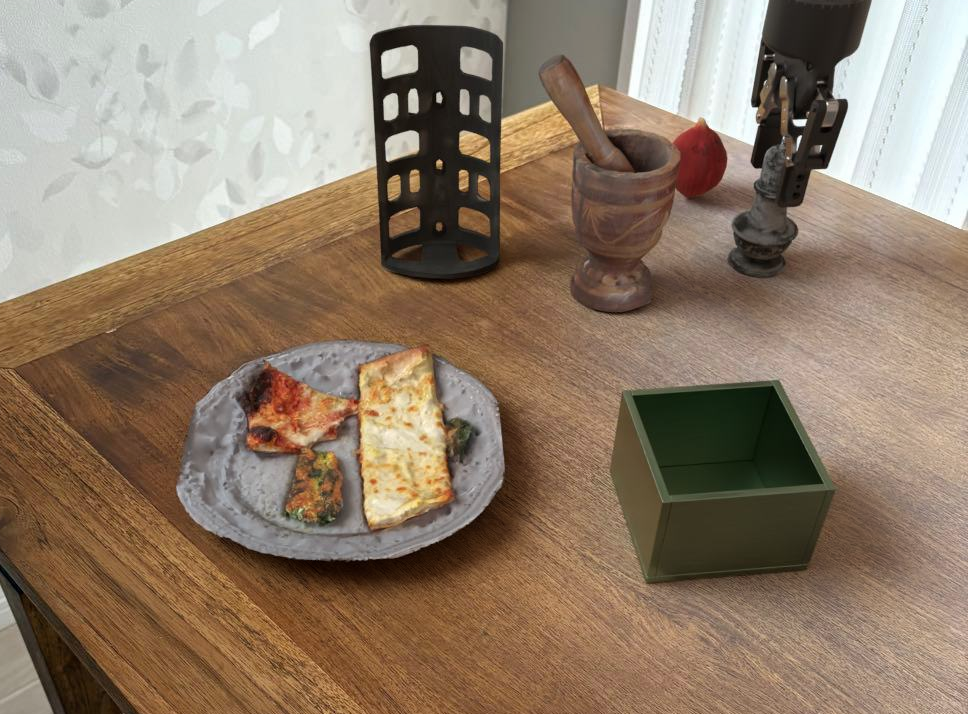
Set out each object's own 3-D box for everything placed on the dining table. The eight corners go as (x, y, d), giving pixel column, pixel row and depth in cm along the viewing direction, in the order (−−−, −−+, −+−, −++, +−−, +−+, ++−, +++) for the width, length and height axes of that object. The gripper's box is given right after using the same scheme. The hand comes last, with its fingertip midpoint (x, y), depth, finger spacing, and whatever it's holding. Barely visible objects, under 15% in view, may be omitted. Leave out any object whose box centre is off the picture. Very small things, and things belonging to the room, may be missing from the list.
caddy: (756, 460, 83) (779, 379, 78) (807, 570, 75) (836, 489, 70) (609, 471, 82) (622, 390, 77) (645, 583, 75) (662, 502, 69)
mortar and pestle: (533, 321, 95) (551, 93, 81) (521, 266, 101) (535, 44, 87) (666, 316, 96) (707, 88, 82) (646, 261, 102) (681, 40, 88)
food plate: (210, 359, 92) (204, 323, 89) (492, 357, 92) (493, 321, 89) (164, 585, 75) (154, 549, 72) (510, 582, 75) (513, 546, 72)
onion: (730, 196, 110) (747, 118, 104) (697, 218, 107) (713, 140, 101) (681, 176, 113) (695, 99, 107) (648, 197, 110) (660, 119, 104)
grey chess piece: (802, 266, 101) (837, 140, 93) (757, 286, 99) (788, 160, 90) (755, 237, 105) (785, 114, 96) (710, 256, 102) (736, 132, 94)
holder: (383, 286, 99) (375, 51, 86) (373, 249, 104) (364, 22, 91) (505, 277, 100) (515, 43, 87) (488, 240, 106) (496, 16, 93)
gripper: (910, 17, 80) (846, 226, 92) (837, -54, 90) (789, 144, 102) (808, 21, 79) (758, 231, 91) (747, -50, 89) (709, 148, 101)
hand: (774, 184), depth 96 cm, fingers open, 6 cm apart
